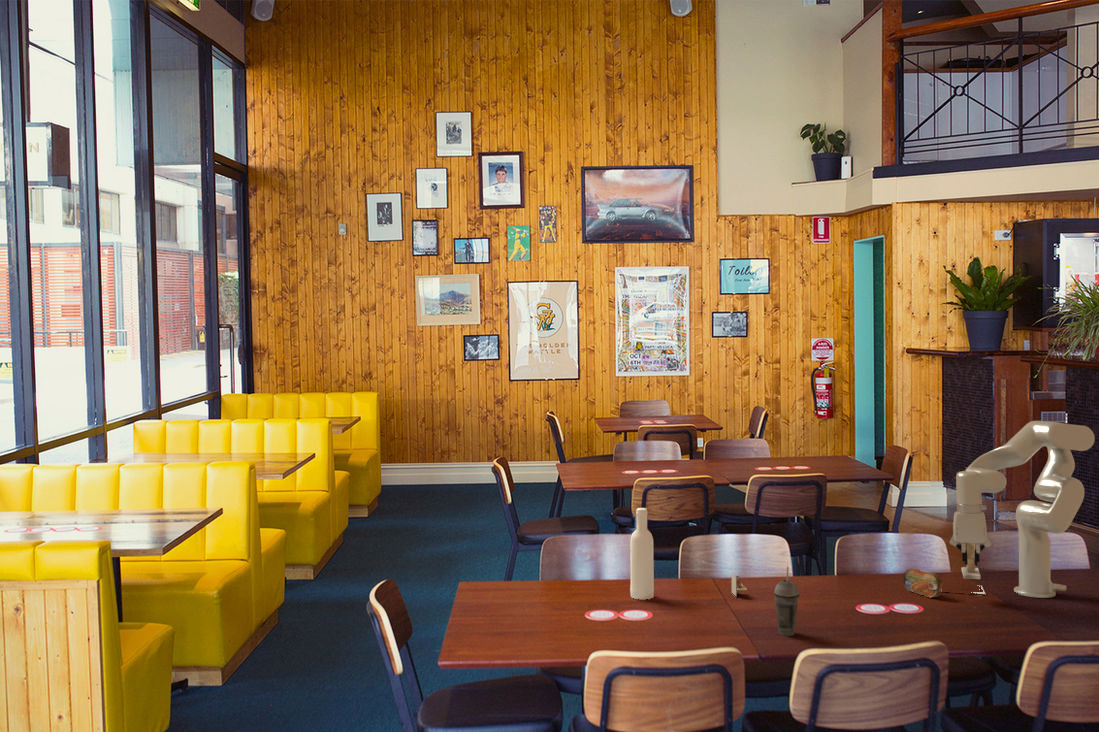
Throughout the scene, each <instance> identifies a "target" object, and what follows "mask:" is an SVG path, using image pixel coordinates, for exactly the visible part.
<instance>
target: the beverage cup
mask: <svg viewBox="0 0 1099 732" xmlns="http://www.w3.org/2000/svg"><path fill="white" fill-rule="evenodd" d="M789 569H790V567H789V566H786V579H783V580H781V581H779V582H778V583H777V584H776V586H775V588H774V592H773V595H774V601H775V605H776V607H775V609H776V617H777V629H778V635H781V636H784V637H785V636H786V637H790V636H794V635H795V634H796V633H795V631H796V624H797V612H798V603H799V597H800V592H799V588H798V587H797V585H796V583H794V582H793V581H791V580H789Z"/></svg>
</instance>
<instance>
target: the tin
mask: <svg viewBox="0 0 1099 732" xmlns="http://www.w3.org/2000/svg"><path fill="white" fill-rule="evenodd" d="M902 577H903V578H902V582H903V586H904V588H905V590H906V591H907V592H909V591H912V592H915V593H918V594H921V595H924V596H926V597H925V598H927V597H929V599H931V598H937V597H939V596H940V595H941V594H942V593H941V592H942V583H943V582H942V579H941V577H940V576H939V575H938V574H937V573H935V572H932V571H928V570H922V569H919V568H908V569H906V570H905V572H904V574H903V576H902ZM924 596H923V597H924Z"/></svg>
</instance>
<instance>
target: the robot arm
mask: <svg viewBox="0 0 1099 732" xmlns="http://www.w3.org/2000/svg"><path fill="white" fill-rule="evenodd" d="M1095 437H1096V436H1095V434H1094V432H1093V431H1092V429H1091V428H1090V427H1088V426H1087V425H1079V424H1069V423H1063V422H1062V423H1061V422H1056V421H1046V420H1032V421H1029V422H1027V423H1026V424H1025V425H1024V426H1023V427H1022V428H1021V429H1020V430H1019V431H1017V433H1016V434H1014V436H1012V437H1011V438H1010V439H1009V440H1008V441H1007V442H1006V443H1005V444H1004V445H1001V446H999V447H996V448H994V449H992V450H990V451H988V452H986V453H983V454H982V455H980V456H979V457H977V458H976V459H975V460H974V461H972V463H971V464H970V465H968V467H966V469H965V470H962V471H958V472H956V477H955V479H956V480H955V481H956V482H955V483H956V484H955V485H956V490H955V491H956V511H954V513H953V522H952V536H951V538H950V540H949V544H950V546H954V547H956V548H957V549H958V550H960V552H961V562H964V565H965V566H967V552H966V543H975V566H978V563H980V553H981V552H982V551H983V550H984V549H986V548H989V547H990V546H992V543H991V540H990V539H989V536H988V530H987V522H986V515H985V512H983V511H987V510H988V508H987V505H983V503H982V501H983V500H982V494H983V493H990V494H996V493H999V492H1002V491H1003V490H1005V488H1006V486H1007V477H1006V476H1005V475H1004V474H1003V473H1002V471H999V470H1002V469H1007V468H1014V467H1018V466H1021V465H1023V464H1026V463H1027V462H1029V460H1030V459H1031V458H1032V457H1033V456H1034V455H1035V454H1036V453H1037V452H1038V451H1039V450H1041V448H1043V447H1046V448H1047V453H1048V456H1047V461H1046V464H1045V465H1044V467H1043V469H1042V471H1041V472H1040V475H1039V476H1038V478H1037V480H1036V482H1035V485H1034V487H1033V493H1034V495H1035V497H1036V498H1038V499H1039V500H1042V501H1039V500H1031V499H1030V500H1028V499H1027V500H1024V501H1021V502H1020V503H1019V504H1018V505H1017V506H1016V507H1017V508H1016V510H1015V519H1016V525H1017V530H1018V586H1015V587H1014V588H1013V591H1014V593H1015V592H1016V593H1015V594H1017V593H1018V594H1017V595H1019V596H1024V597H1029V598H1039V599H1046V598H1047V599H1049V598H1054V597H1056V591H1059V592H1060V591H1062V592H1066V591H1067V585H1066V584H1065V585H1064V584H1060V583H1053V581H1052V580H1051V549H1052V547H1051V539H1050V536H1049V534H1048V533H1051V534H1062V533H1065V532H1066V531H1067V530H1068V529H1069V527H1070V526H1071V524H1072V522H1073V520H1074V518H1075V516H1076V515H1077V514H1078V513H1077V512H1078V511H1079V509H1080V507H1081V505H1082V503H1083V501H1084V498H1085V488H1084V487H1085V486H1084V485H1083V483H1082V481H1081V480H1079V479H1077V478H1075V477H1073V473H1074V471H1075V467H1076V464H1075V459H1074V455H1073V454H1072V451H1080V452H1083V451H1088V450H1089V449H1091V448H1092V447H1093V446H1094V443H1095V441H1096V440H1095ZM1048 502H1050V503H1048Z"/></svg>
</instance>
